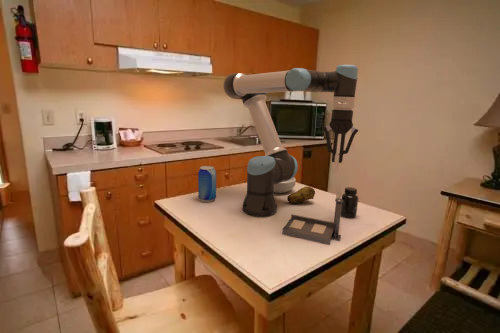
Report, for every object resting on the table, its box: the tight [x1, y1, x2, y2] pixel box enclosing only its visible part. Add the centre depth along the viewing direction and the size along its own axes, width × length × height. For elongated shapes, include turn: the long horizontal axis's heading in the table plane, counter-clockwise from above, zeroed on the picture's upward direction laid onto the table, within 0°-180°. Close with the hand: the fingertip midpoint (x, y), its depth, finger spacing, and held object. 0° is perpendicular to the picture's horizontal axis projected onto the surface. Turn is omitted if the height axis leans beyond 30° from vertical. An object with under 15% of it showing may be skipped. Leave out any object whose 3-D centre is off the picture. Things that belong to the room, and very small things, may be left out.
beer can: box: [197, 165, 217, 203], centre depth 134 cm, size 8×8×16 cm
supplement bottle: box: [340, 186, 359, 219], centre depth 121 cm, size 7×7×12 cm
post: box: [331, 198, 343, 242], centre depth 100 cm, size 4×4×15 cm
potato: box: [286, 186, 316, 204], centre depth 135 cm, size 8×13×8 cm, turn 82°
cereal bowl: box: [274, 176, 297, 194], centre depth 151 cm, size 17×17×7 cm
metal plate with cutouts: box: [281, 214, 334, 246], centre depth 106 cm, size 17×12×3 cm
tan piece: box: [335, 187, 342, 199], centre depth 109 cm, size 18×2×7 cm, turn 163°
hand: (335, 170), depth 111 cm, fingers closed
